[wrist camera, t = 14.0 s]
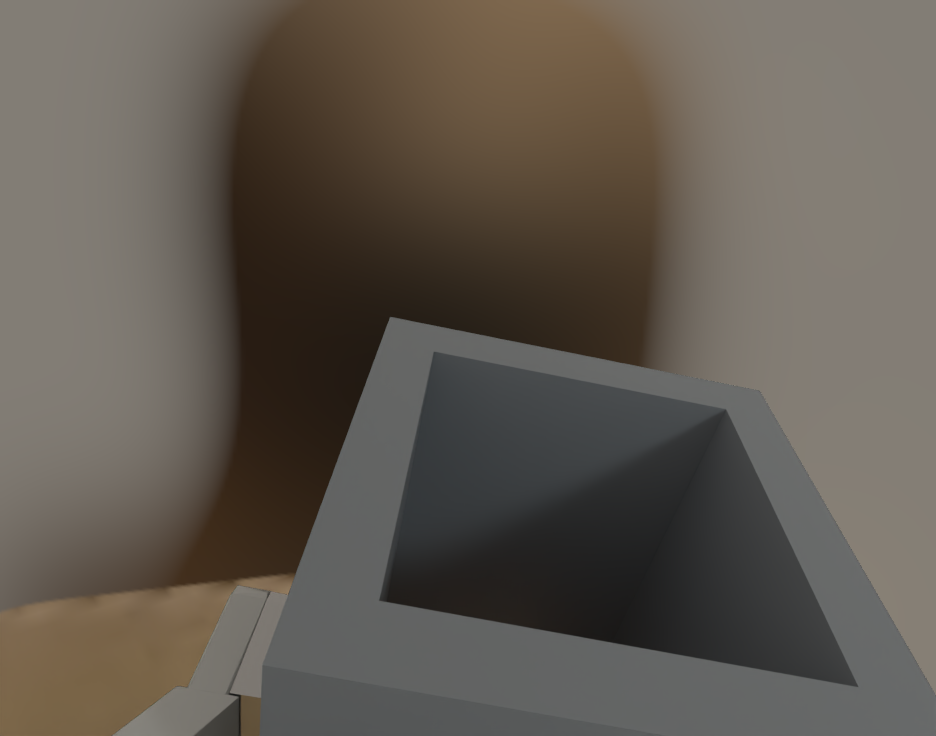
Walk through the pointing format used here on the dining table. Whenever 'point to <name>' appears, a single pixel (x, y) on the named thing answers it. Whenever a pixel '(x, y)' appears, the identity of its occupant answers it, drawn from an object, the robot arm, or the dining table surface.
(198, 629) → the dining table surface
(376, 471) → the sleeve
